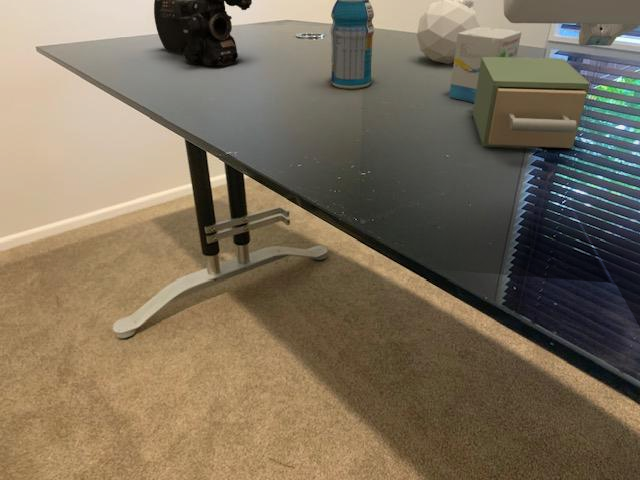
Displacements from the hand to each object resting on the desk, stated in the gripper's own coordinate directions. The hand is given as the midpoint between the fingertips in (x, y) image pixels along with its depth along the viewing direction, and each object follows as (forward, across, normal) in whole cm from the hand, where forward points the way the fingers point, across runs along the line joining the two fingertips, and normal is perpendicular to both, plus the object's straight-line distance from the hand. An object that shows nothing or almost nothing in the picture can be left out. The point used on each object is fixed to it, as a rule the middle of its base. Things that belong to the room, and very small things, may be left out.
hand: (593, 39), depth 51 cm
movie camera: (+60, +68, -34) cm, 97 cm away
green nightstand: (+29, 0, -4) cm, 29 cm away
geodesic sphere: (+62, +9, -36) cm, 72 cm away
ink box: (+42, +4, -16) cm, 45 cm away
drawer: (+25, 0, -1) cm, 25 cm away
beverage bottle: (+46, +29, -20) cm, 58 cm away
